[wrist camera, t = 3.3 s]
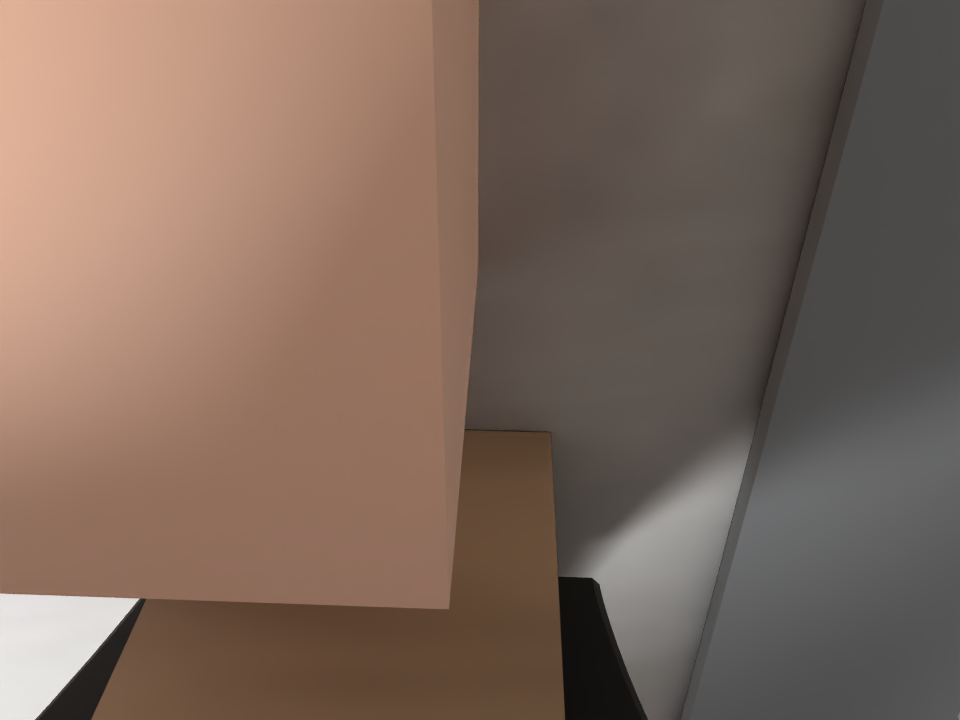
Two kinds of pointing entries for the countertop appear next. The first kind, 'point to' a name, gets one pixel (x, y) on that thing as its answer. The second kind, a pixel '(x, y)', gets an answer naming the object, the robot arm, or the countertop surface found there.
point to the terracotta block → (236, 297)
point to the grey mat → (859, 419)
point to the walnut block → (379, 628)
